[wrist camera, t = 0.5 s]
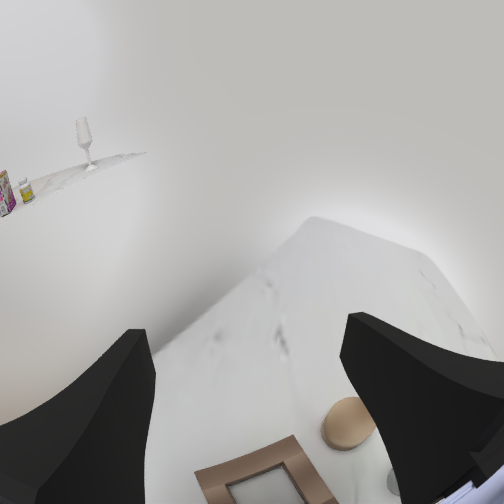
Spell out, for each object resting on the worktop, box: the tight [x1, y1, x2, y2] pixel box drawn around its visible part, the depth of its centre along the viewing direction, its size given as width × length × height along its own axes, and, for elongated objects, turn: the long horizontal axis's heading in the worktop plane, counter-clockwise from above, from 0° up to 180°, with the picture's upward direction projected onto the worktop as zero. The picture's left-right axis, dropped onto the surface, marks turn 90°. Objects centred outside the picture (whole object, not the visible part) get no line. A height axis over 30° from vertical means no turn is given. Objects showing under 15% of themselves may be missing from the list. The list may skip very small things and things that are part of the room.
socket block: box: [194, 435, 339, 504], centre depth 16 cm, size 10×10×3 cm
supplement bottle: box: [19, 178, 35, 204], centre depth 81 cm, size 5×5×10 cm
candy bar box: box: [0, 170, 16, 217], centre depth 75 cm, size 11×5×16 cm, turn 28°
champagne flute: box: [76, 117, 98, 172], centre depth 98 cm, size 7×7×24 cm
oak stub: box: [321, 397, 376, 451], centre depth 22 cm, size 5×5×4 cm
